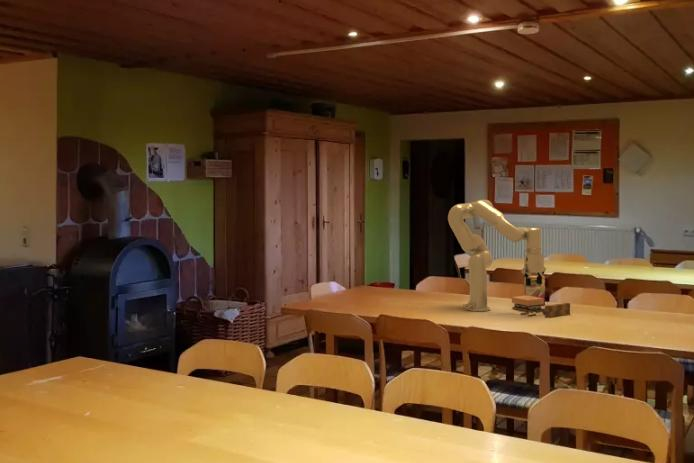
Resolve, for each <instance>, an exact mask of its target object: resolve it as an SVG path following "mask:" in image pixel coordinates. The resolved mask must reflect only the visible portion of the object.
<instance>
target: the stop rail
mask: <svg viewBox="0 0 694 463" xmlns="http://www.w3.org/2000/svg"><path fill="white" fill-rule="evenodd" d="M544 308H545V315H544V318H549V319H550V318H556V317H562V316H563V317H564V316H568V315H569V316H571V303H570V302H563V303H555V304H548V305H544Z"/></svg>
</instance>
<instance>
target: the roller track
mask: <svg viewBox="0 0 694 463" xmlns="http://www.w3.org/2000/svg"><path fill="white" fill-rule="evenodd" d="M513 305H514V306H512V307H511V308H512V309H513V310H517V311H522V312H525V313H526V312H529V313H530V314H534V312H535V314H537V313H543V315H544V316H545V307H544V308H542V305H532V306H526V305H521V304H516V303H513Z"/></svg>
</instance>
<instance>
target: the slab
mask: <svg viewBox="0 0 694 463" xmlns="http://www.w3.org/2000/svg"><path fill="white" fill-rule="evenodd" d="M511 303H512V304H515V303H516V304H521V305H526V306H532V305H540V304H544V298H538V297H533V296H527V295H526V296H524V295H519V296H512V297H511Z"/></svg>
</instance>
